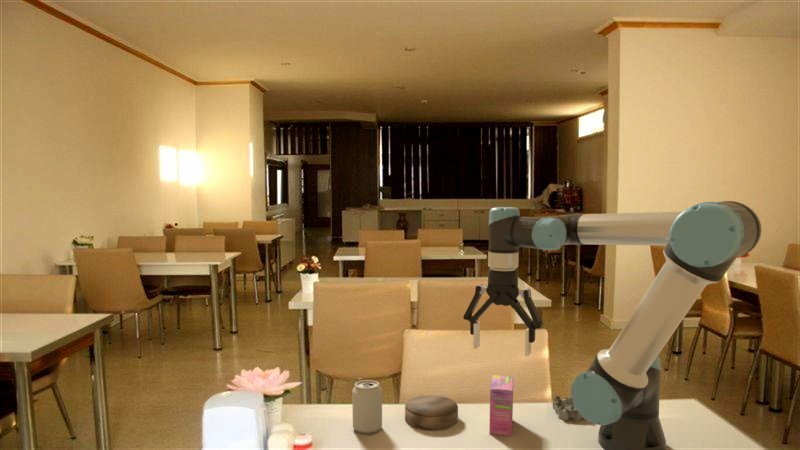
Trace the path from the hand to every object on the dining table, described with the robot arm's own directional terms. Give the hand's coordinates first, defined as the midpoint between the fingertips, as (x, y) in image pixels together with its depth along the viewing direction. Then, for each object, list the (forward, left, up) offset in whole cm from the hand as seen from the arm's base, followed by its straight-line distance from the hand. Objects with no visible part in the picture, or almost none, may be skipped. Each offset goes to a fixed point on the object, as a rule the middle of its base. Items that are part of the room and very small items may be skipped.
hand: (501, 351), depth 154 cm
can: (+30, +17, -20) cm, 40 cm away
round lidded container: (+18, +4, -20) cm, 27 cm away
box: (0, 0, -20) cm, 20 cm away
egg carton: (-13, -17, -20) cm, 30 cm away
